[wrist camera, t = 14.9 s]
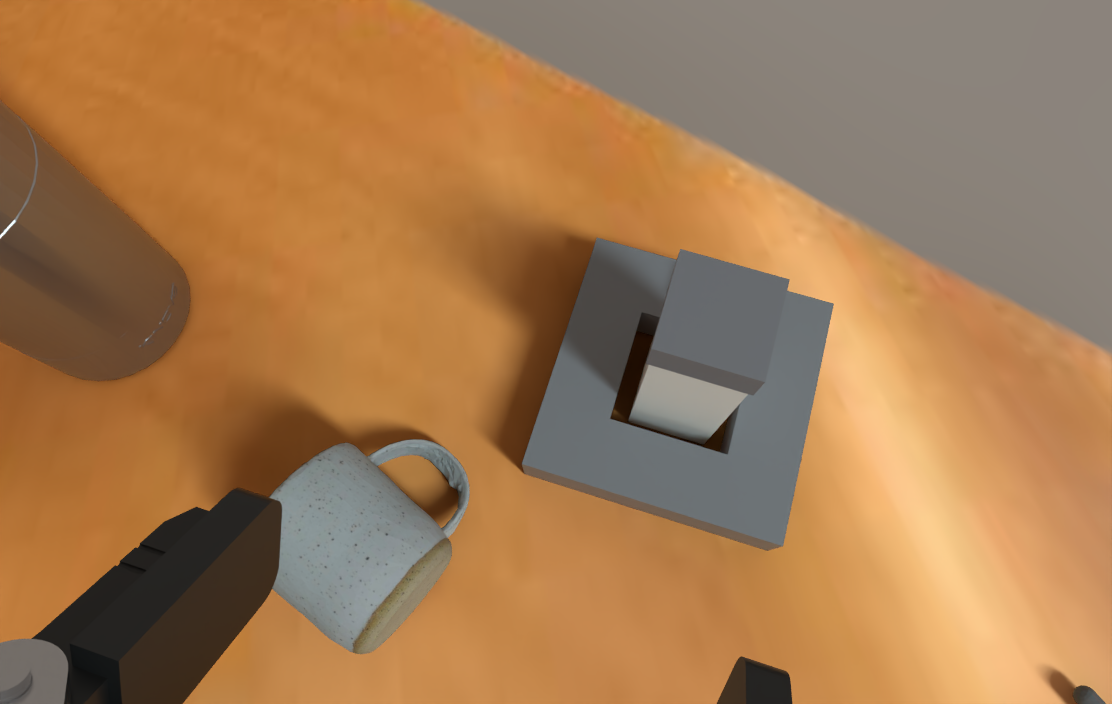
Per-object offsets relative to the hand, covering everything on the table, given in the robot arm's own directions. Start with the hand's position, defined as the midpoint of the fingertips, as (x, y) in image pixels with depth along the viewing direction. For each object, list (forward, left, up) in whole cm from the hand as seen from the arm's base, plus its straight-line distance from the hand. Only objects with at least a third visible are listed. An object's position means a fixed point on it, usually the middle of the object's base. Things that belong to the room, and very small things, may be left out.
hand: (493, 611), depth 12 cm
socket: (+4, +14, -29) cm, 32 cm away
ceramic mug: (-9, +1, -29) cm, 31 cm away
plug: (+4, +14, -29) cm, 32 cm away
